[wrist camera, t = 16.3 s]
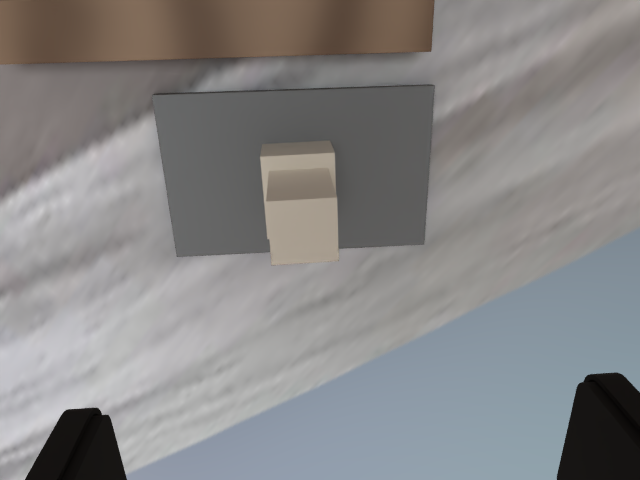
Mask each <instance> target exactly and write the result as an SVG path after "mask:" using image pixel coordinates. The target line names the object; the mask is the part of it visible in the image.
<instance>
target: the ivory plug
mask: <svg viewBox="0 0 640 480" xmlns="http://www.w3.org/2000/svg"><path fill="white" fill-rule="evenodd" d="M260 161H261V172H262V184H263V195H264V206H265V218H266V229H267V239H269V241H270V252H271V264H272V265H285V264H301V263H316V262H331V261H339V249H338V211H337V195H336V177H335V152H334V149H333V147H332V144H331V142H330V140H328V141H310V142H291V143H273V144H262V148H261V154H260Z"/></svg>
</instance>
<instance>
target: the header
mask: <svg viewBox="0 0 640 480" xmlns="http://www.w3.org/2000/svg"><path fill="white" fill-rule="evenodd" d="M433 15H434V0H0V64H32V63H66V62H99V61H132V60H166V59H199V58H232V57H266V56H299V55H332V54H366V53H399V52H431V47H432V31H433Z"/></svg>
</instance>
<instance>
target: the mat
mask: <svg viewBox="0 0 640 480" xmlns="http://www.w3.org/2000/svg"><path fill="white" fill-rule="evenodd" d="M434 89H435V86H434V85H403V86H374V87H344V88H314V89H284V90H255V91H225V92H195V93H165V94H153V95H152V99H153V106H154V112H155V119H156V125H157V132H158V138H159V145H160V151H161V157H162V164H163V170H164V177H165V183H166V190H167V196H168V203H169V209H170V216H171V222H172V228H173V235H174V241H175V248H176V254H177V257H186V256H206V255H225V254H245V253H265V252H270V241H269V239H267V229H266V218H265V206H264V195H263V184H262V172H261V161H260V154H261V148H262V144H273V143H291V142H310V141H328V140H330V142H331V144H332V147H333V149H334V152H335V177H336V195H337V211H338V249H343V248H363V247H382V246H402V245H422V244H424V240H425V225H426V210H427V195H428V180H429V164H430V149H431V134H432V119H433V104H434Z"/></svg>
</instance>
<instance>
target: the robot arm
mask: <svg viewBox="0 0 640 480" xmlns="http://www.w3.org/2000/svg"><path fill="white" fill-rule="evenodd" d="M25 480H127V479H126V475H125V471H124V467H123V463H122V460H121V456H120V452H119V448H118V445H117V441H116V437H115V433H114V429H113V426H112V422H111V419H110V417H109V415H102V413H101V411H100V410H99V409H98V408H84V409H69V410H66V411H64V412H63V414H62V415H61V417H60V418H59V420H58V422H57V424H56V426H55V427H54V429H53V431H52V433H51V434H50V436H49V438H48V440H47V441H46V443H45V445H44V447H43V449H42V450H41V452H40V454H39V456H38V457H37V459H36V461H35V463H34V464H33V466H32V468H31V470H30V472H29V473H28V475H27V477H26V479H25ZM557 480H640V392H639V391H638V390H637V389H636V388H635V387H634V386H633V385H632V384H631V383H630V382H629V381H628V380H627V379H626V378H625V377H624V376H623V375H622V374H619V373H603V374H590V375H587V376H586V377H585V380H584V382H582V383H579V384H578V386H577V389H576V394H575V398H574V403H573V407H572V412H571V417H570V421H569V425H568V429H567V434H566V438H565V443H564V447H563V452H562V456H561V461H560V465H559V470H558V474H557Z"/></svg>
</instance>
